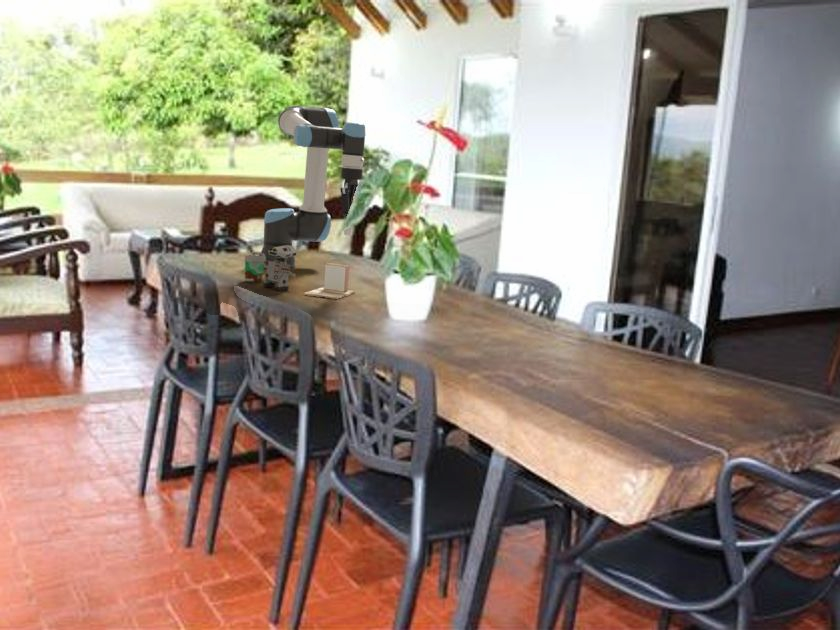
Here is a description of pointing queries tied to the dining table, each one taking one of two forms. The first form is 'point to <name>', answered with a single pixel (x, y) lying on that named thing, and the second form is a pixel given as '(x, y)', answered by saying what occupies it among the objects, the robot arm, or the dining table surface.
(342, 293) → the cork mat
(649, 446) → the dining table surface
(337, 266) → the tile
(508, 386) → the dining table surface
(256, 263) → the food container
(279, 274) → the figurine
